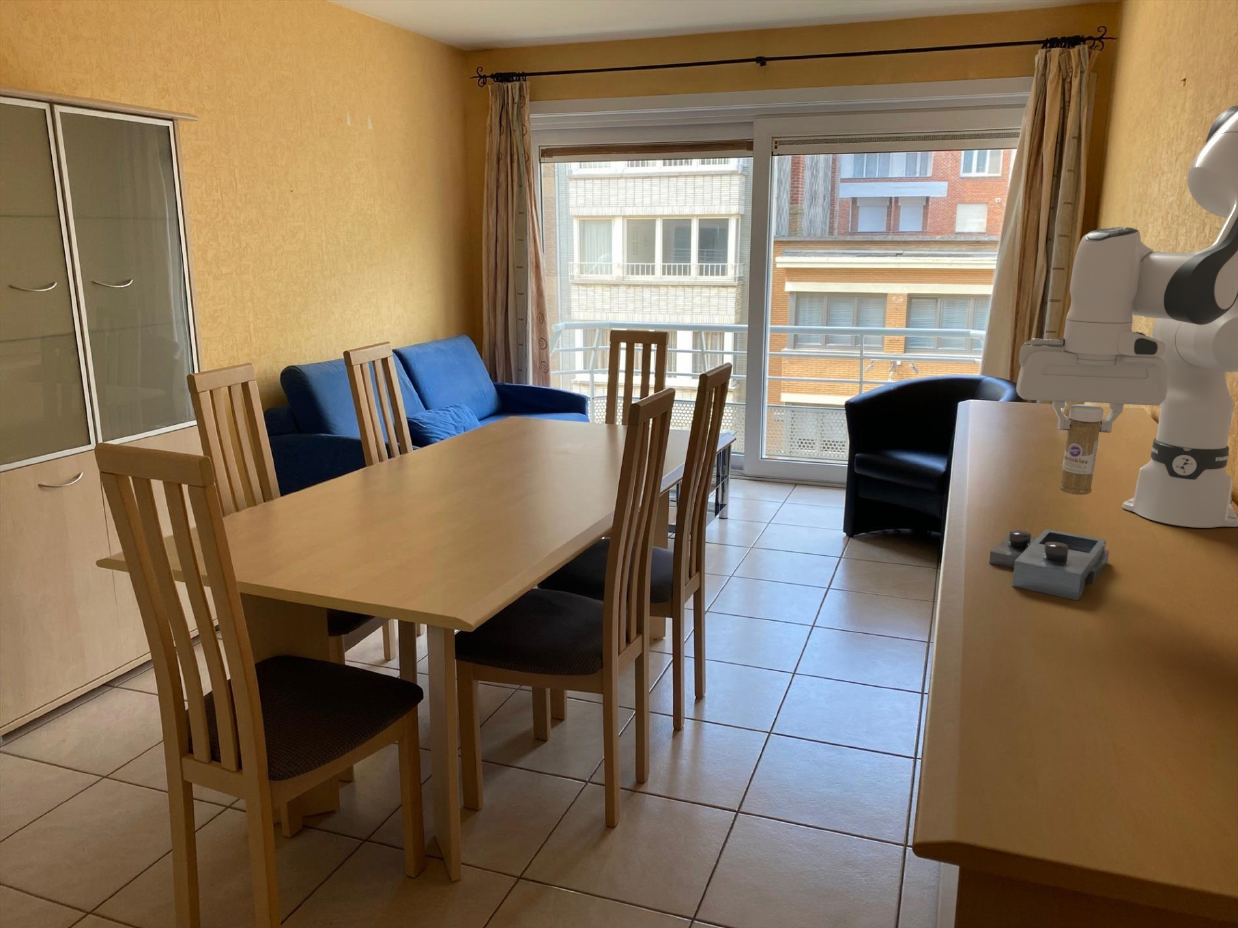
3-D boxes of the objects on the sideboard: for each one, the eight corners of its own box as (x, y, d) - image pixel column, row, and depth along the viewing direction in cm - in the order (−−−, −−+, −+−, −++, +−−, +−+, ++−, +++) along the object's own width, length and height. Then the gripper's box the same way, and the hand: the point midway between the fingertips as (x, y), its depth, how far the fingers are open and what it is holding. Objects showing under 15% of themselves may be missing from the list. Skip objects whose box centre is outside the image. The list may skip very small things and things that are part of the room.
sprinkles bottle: (1056, 492, 141) (1067, 407, 137) (1062, 485, 144) (1073, 402, 140) (1088, 497, 138) (1101, 411, 134) (1094, 490, 141) (1106, 405, 138)
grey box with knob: (1042, 551, 151) (1047, 517, 149) (1102, 563, 145) (1108, 527, 144) (1011, 585, 136) (1016, 548, 134) (1077, 600, 131) (1082, 561, 129)
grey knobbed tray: (1009, 543, 155) (1012, 521, 154) (1107, 562, 146) (1111, 538, 145) (989, 563, 145) (991, 539, 144) (1092, 584, 136) (1096, 559, 135)
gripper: (1024, 340, 135) (1014, 431, 138) (1178, 345, 130) (1163, 439, 133) (1017, 335, 141) (1007, 423, 144) (1164, 340, 136) (1150, 430, 139)
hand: (1083, 430), depth 139 cm, fingers closed on sprinkles bottle, 4 cm apart
